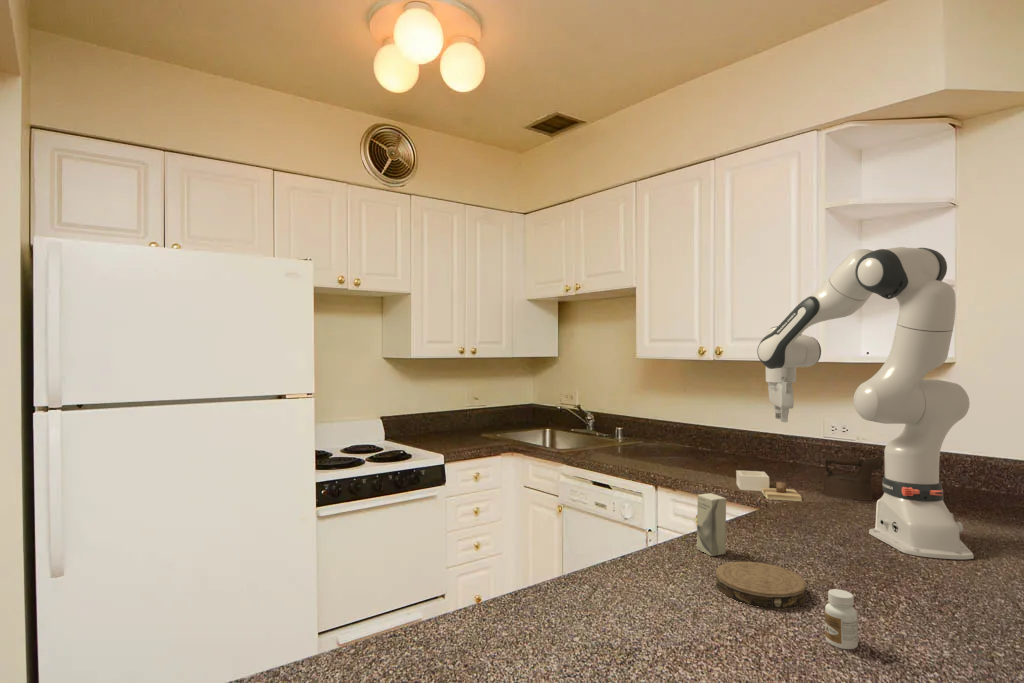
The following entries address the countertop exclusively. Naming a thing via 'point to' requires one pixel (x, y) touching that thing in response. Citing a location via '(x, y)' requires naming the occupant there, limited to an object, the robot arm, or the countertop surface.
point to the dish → (752, 480)
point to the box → (711, 524)
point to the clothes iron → (850, 478)
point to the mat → (780, 499)
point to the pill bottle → (841, 620)
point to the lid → (781, 492)
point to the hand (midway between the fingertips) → (781, 420)
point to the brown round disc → (761, 585)
